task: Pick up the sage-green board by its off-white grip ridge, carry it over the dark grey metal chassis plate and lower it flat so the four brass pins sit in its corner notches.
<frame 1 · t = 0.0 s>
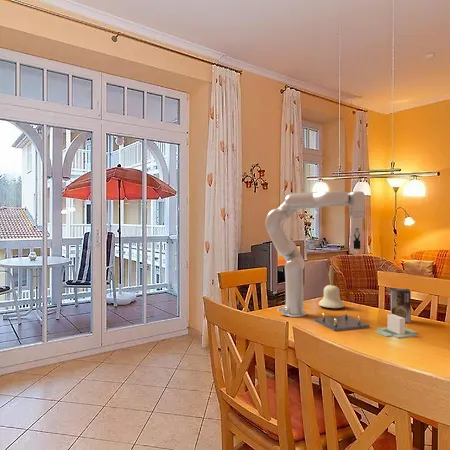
hand: (356, 248, 199), 37 cm above the table, tool pointing down, fingers open, 9 cm apart
handbell: (331, 307, 226), on the table
board: (396, 333, 176), on the table
chassis: (341, 323, 191), on the table
coffee box: (400, 321, 196), on the table
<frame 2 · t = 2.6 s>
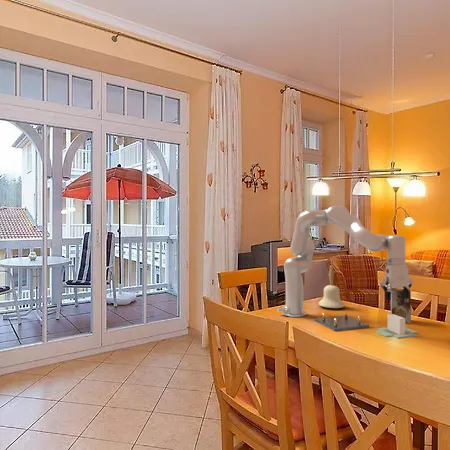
hand: (396, 299, 175), 16 cm above the table, tool pointing down, fingers open, 9 cm apart
nothing on the table moved.
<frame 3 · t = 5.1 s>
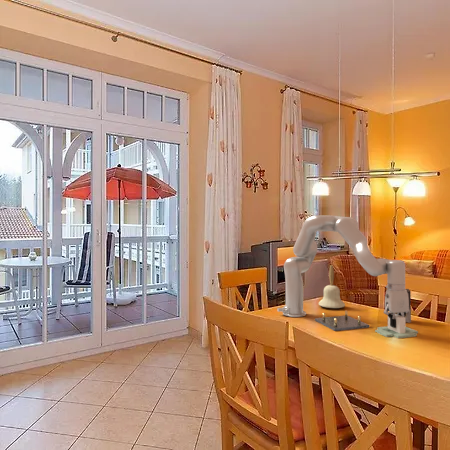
hand: (396, 326, 176), 3 cm above the table, tool pointing down, fingers closed on board, 3 cm apart
board: (396, 332, 176), on the table, touching gripper
everything else where it was.
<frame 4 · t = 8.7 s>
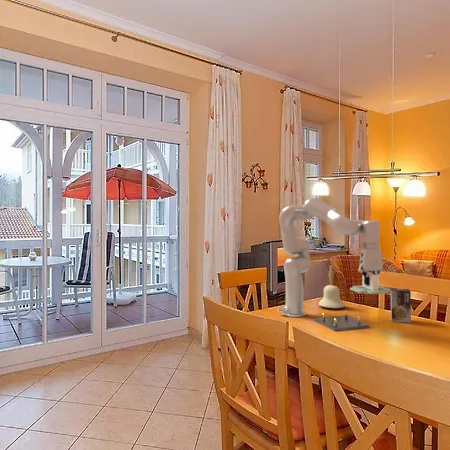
hand: (370, 284, 182), 21 cm above the table, tool pointing down, fingers closed on board, 3 cm apart
board: (370, 290, 182), point 18 cm above the table, touching gripper
everything else where it was.
when the fingers open (4 cm above the table, at t = 12.5 s): board stays where it is, resting on chassis.
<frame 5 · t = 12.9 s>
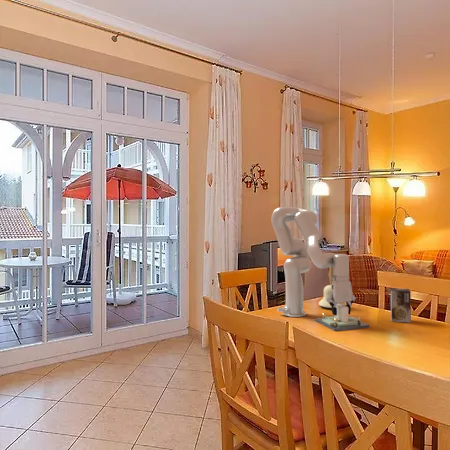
hand: (341, 313, 191), 5 cm above the table, tool pointing down, fingers open, 7 cm apart
board: (341, 321, 191), point 1 cm above the table, touching chassis
everything else where it was.
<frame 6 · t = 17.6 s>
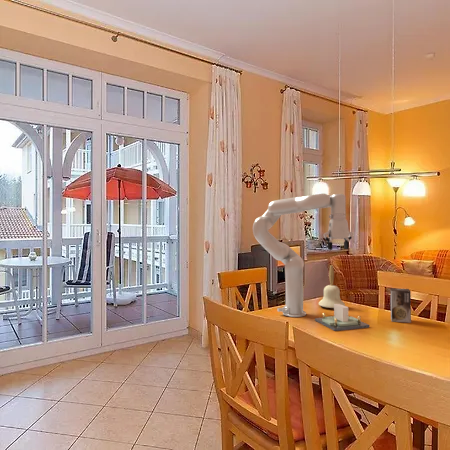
hand: (338, 249, 203), 36 cm above the table, tool pointing down, fingers open, 9 cm apart
nothing on the table moved.
at the end: board 0.1 cm off-centre on the chassis, point 1.2 cm above the chassis's base; board tilted 0°; the gripper is holding nothing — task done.
